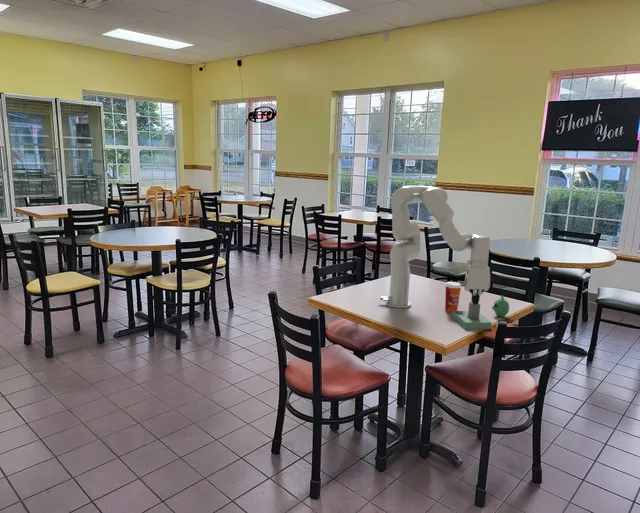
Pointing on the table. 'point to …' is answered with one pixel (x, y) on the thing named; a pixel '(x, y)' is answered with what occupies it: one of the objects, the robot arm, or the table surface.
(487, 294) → the table surface
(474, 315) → the keyed plug
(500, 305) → the alien toy
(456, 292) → the paper cup
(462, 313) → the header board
